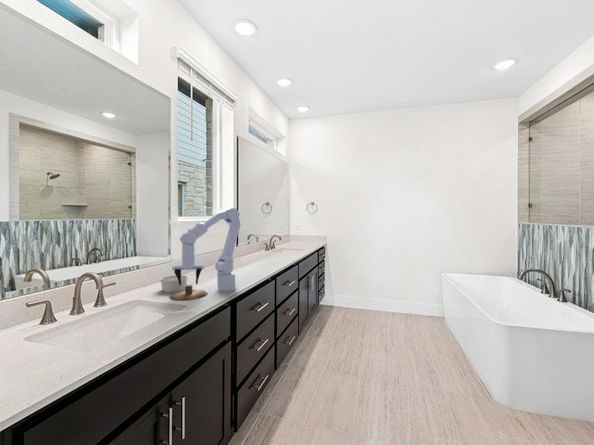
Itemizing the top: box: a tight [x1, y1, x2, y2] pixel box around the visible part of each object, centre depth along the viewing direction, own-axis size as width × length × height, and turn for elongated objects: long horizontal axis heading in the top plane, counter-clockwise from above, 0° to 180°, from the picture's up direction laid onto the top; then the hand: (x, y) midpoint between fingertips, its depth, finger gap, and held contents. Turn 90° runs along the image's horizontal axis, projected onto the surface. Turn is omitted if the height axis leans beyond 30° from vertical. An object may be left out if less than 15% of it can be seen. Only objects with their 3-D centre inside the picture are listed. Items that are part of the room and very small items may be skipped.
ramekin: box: [160, 274, 188, 293], centre depth 152 cm, size 13×13×7 cm
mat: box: [168, 291, 209, 302], centre depth 140 cm, size 18×18×1 cm
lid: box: [170, 284, 207, 301], centre depth 140 cm, size 16×16×5 cm
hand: (188, 284), depth 140 cm, fingers open, 7 cm apart
